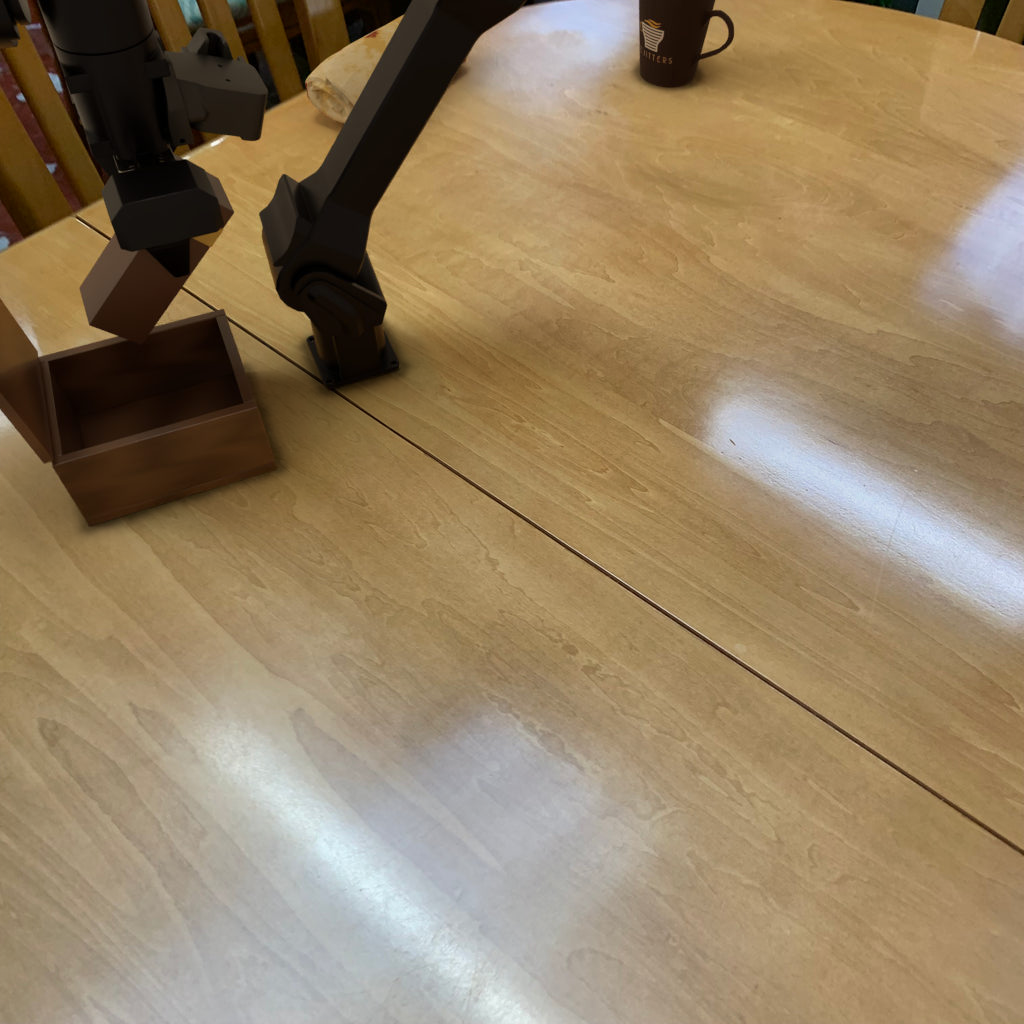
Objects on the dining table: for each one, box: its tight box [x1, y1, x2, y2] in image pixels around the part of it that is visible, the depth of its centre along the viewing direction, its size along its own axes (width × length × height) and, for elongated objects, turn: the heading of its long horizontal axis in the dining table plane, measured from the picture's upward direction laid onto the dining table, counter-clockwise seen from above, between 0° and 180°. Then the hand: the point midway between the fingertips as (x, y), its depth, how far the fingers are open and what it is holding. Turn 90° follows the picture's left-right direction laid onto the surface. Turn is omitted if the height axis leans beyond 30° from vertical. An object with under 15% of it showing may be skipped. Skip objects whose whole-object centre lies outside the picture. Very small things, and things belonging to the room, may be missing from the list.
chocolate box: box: [78, 152, 235, 345], centre depth 65 cm, size 4×5×12 cm
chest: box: [38, 308, 278, 527], centre depth 70 cm, size 14×12×7 cm
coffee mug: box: [638, 0, 735, 88], centre depth 102 cm, size 12×9×10 cm
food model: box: [304, 14, 468, 124], centre depth 102 cm, size 10×7×20 cm
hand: (174, 255), depth 66 cm, fingers closed on chocolate box, 4 cm apart
